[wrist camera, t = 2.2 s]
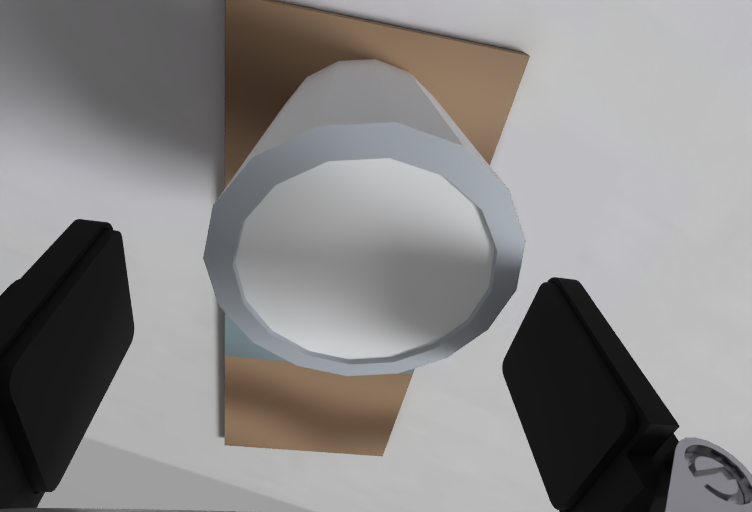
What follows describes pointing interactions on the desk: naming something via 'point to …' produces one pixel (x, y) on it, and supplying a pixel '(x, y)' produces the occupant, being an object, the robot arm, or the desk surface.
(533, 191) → the desk surface
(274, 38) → the game board
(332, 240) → the white cup
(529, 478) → the desk surface
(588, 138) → the desk surface
